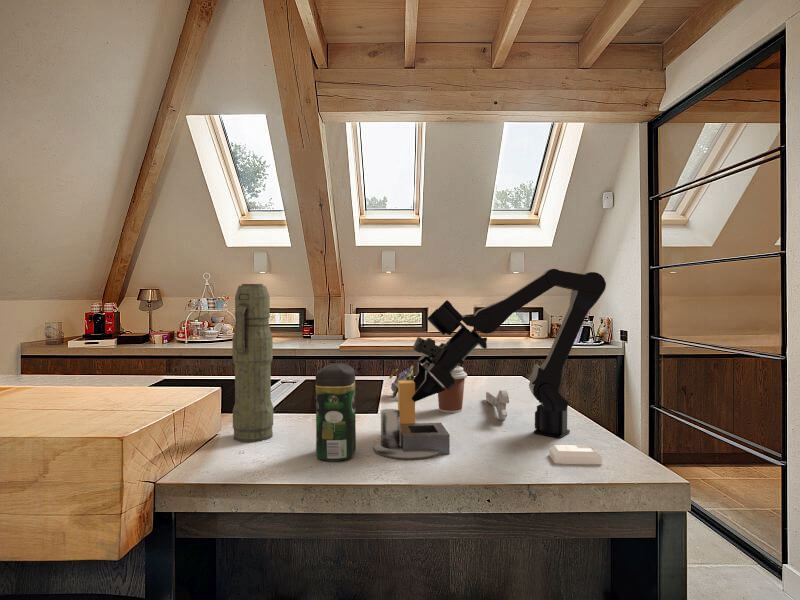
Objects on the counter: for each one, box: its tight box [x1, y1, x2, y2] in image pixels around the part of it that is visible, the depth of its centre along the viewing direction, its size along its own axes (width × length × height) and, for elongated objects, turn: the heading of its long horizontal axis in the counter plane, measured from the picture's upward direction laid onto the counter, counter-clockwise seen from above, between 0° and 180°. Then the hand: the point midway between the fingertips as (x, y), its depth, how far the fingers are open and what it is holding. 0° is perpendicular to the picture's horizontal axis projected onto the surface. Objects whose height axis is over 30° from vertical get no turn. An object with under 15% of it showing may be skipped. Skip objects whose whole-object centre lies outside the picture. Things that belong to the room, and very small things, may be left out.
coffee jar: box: [314, 362, 357, 462], centre depth 104 cm, size 10×8×19 cm
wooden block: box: [397, 380, 416, 424], centre depth 121 cm, size 4×4×12 cm
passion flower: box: [388, 365, 417, 398], centre depth 160 cm, size 11×11×12 cm
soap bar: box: [548, 444, 603, 465], centre depth 102 cm, size 5×9×3 cm, turn 86°
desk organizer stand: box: [373, 408, 451, 461], centre depth 109 cm, size 15×15×8 cm
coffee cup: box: [437, 365, 468, 414], centre depth 143 cm, size 9×9×12 cm
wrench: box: [485, 389, 510, 421], centre depth 142 cm, size 8×2×30 cm
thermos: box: [232, 283, 274, 443], centre depth 117 cm, size 9×12×35 cm
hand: (410, 396), depth 121 cm, fingers open, 9 cm apart
